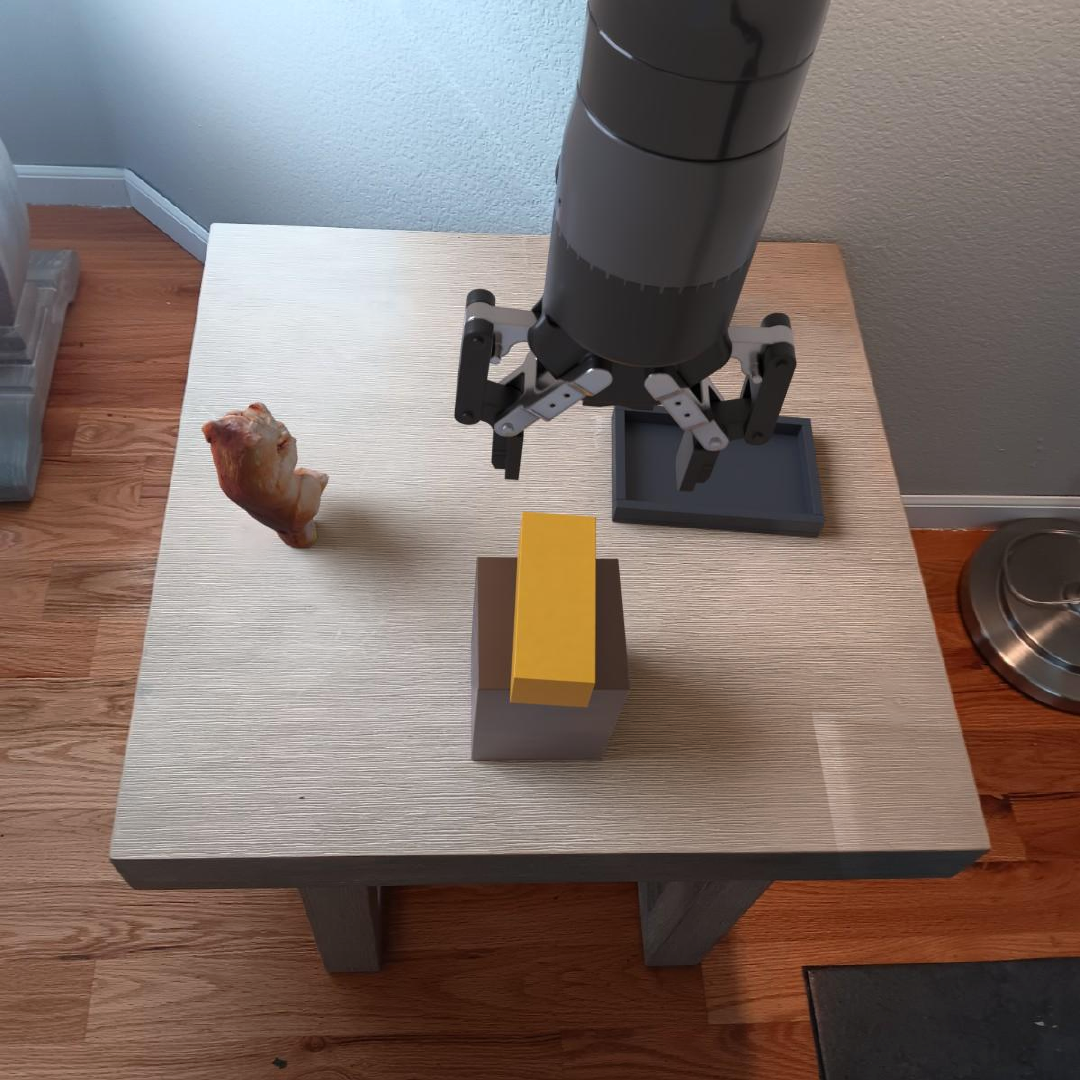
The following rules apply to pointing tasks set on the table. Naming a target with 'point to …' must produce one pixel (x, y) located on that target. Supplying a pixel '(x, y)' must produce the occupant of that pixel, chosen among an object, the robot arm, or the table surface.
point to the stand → (537, 726)
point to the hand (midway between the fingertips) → (598, 471)
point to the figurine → (266, 473)
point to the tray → (716, 478)
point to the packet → (555, 610)
